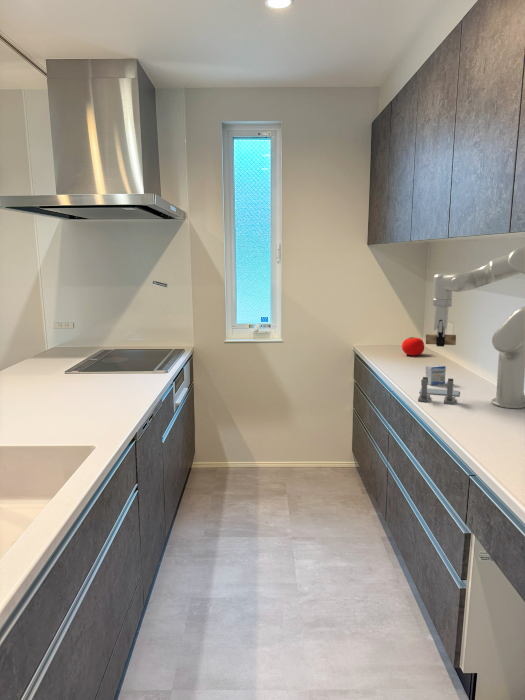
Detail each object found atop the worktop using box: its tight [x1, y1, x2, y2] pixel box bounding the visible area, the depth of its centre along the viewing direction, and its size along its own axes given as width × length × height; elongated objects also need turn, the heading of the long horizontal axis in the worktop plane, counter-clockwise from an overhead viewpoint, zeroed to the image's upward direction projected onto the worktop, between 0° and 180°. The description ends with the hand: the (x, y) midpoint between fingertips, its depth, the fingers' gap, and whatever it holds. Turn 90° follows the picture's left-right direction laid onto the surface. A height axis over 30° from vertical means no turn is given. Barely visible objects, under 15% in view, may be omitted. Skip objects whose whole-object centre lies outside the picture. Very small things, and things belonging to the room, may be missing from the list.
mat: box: [418, 387, 460, 397], centre depth 210 cm, size 16×8×1 cm, turn 66°
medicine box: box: [425, 364, 447, 386], centre depth 225 cm, size 8×4×9 cm, turn 105°
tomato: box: [401, 336, 425, 357], centre depth 295 cm, size 12×14×11 cm
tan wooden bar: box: [425, 333, 457, 346], centre depth 206 cm, size 12×3×4 cm, turn 66°
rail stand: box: [417, 376, 456, 405], centre depth 198 cm, size 14×8×9 cm, turn 66°
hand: (440, 345), depth 206 cm, fingers closed on tan wooden bar, 3 cm apart
